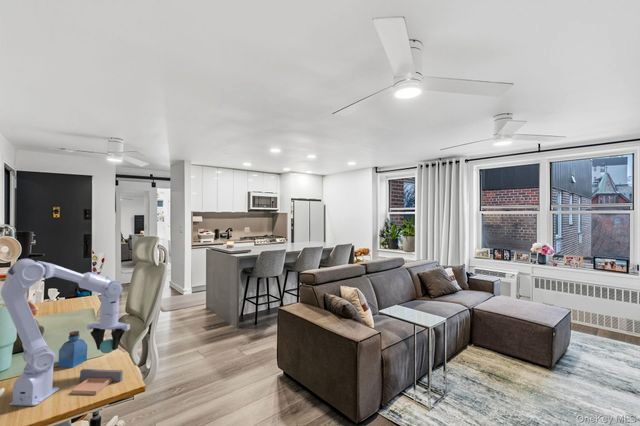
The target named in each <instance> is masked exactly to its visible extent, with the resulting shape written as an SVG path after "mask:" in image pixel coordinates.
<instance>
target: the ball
mask: <svg viewBox="0 0 640 426" xmlns="http://www.w3.org/2000/svg"><path fill="white" fill-rule="evenodd" d="M112 346H113V340H112V338H106V339H105V340H103V342H102V343H101V344H100V350H99V351H100V352H101V353H102V354H110V353H111V352H113V351H114V350H113V349H112Z"/></svg>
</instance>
